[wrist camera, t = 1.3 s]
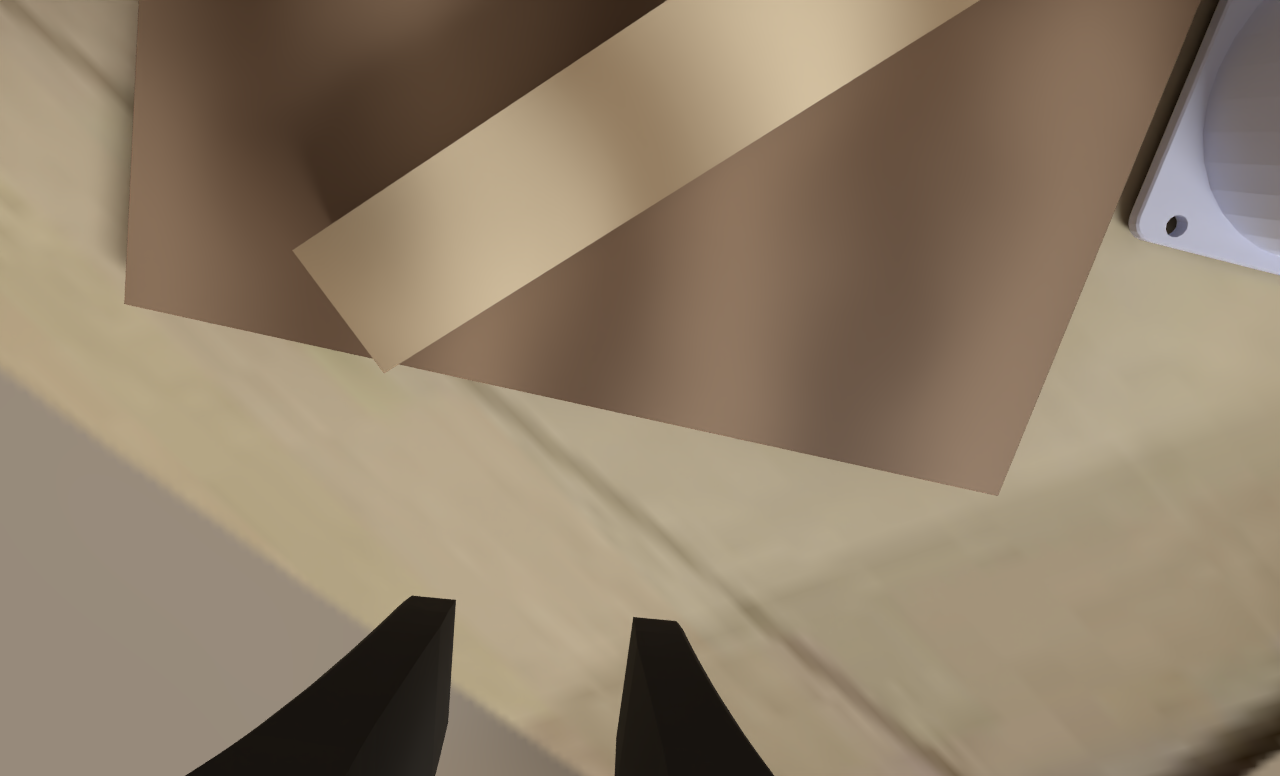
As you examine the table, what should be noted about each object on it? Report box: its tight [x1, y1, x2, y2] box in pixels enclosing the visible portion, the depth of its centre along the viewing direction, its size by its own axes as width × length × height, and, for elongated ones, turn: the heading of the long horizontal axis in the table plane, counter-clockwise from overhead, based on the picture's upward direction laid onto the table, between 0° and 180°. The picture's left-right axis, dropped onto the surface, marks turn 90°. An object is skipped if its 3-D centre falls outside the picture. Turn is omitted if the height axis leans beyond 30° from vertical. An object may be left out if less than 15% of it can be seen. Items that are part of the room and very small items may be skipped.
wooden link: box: [292, 0, 979, 373], centre depth 15 cm, size 18×4×5 cm, turn 121°
